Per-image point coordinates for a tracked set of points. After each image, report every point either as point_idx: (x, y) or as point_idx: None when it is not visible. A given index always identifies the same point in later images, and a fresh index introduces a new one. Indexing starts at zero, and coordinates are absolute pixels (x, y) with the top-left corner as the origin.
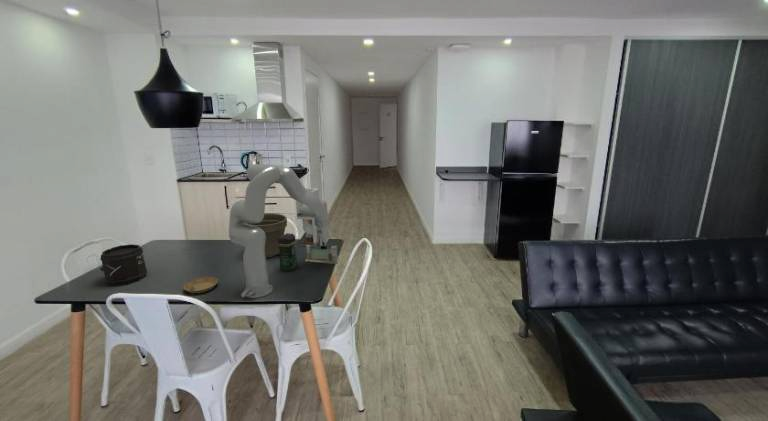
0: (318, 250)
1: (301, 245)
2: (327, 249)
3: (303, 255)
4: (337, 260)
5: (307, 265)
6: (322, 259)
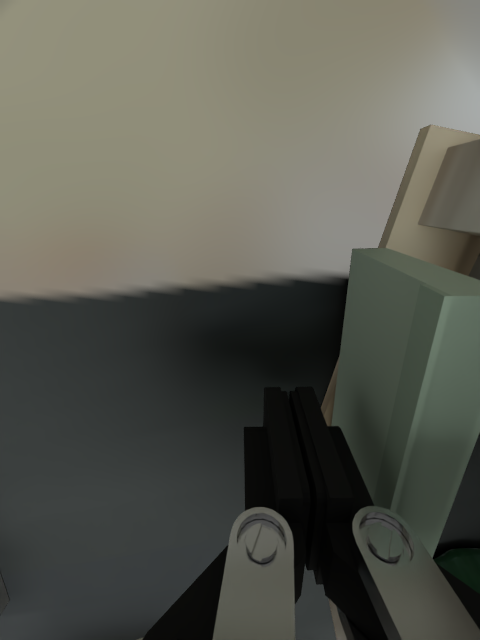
0: (426, 545)
1: (3, 593)
2: (448, 418)
3: (213, 544)
4: (455, 146)
5: (467, 477)
6: None
